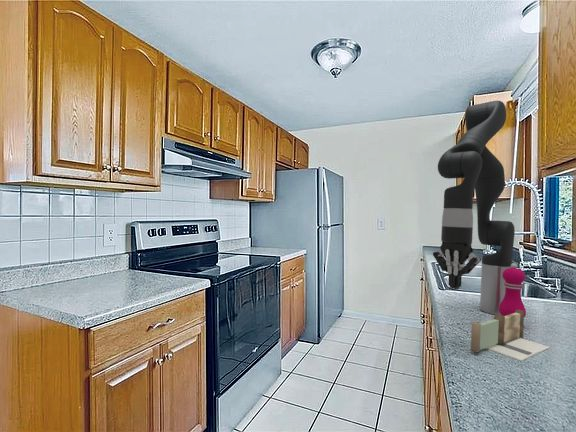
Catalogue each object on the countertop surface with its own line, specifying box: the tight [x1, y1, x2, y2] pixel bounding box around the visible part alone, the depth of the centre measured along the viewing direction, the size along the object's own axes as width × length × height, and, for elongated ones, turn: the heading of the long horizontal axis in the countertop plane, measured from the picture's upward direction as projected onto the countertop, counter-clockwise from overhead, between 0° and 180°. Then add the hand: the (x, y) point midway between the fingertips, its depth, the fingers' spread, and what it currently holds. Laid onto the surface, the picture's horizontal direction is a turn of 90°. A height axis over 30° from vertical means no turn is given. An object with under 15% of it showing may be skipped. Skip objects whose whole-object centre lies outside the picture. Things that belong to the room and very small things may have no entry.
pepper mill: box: [499, 262, 527, 328], centre depth 104 cm, size 7×7×20 cm
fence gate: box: [470, 318, 499, 353], centre depth 84 cm, size 11×2×7 cm, turn 122°
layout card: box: [485, 337, 550, 362], centre depth 87 cm, size 16×12×1 cm
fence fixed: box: [493, 310, 525, 345], centre depth 91 cm, size 14×2×8 cm, turn 122°
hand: (454, 288), depth 89 cm, fingers closed
